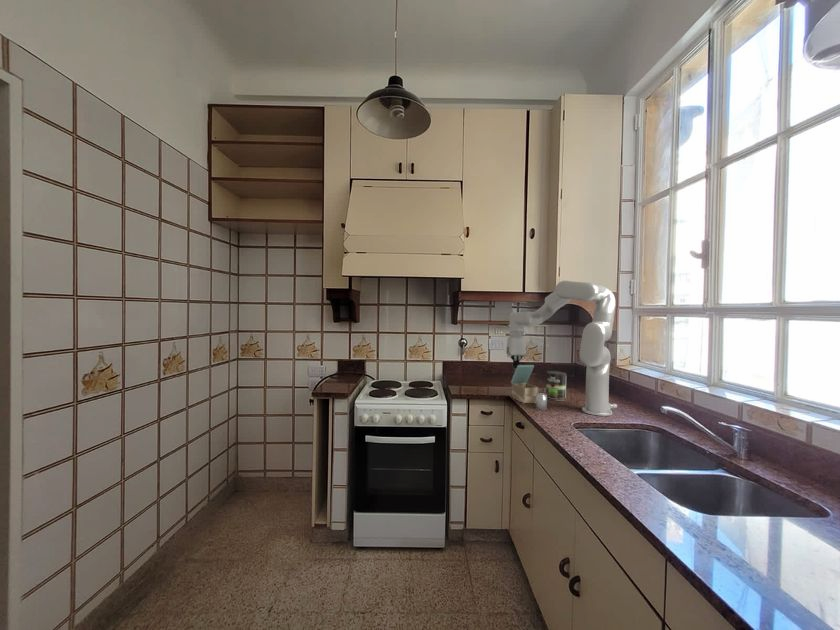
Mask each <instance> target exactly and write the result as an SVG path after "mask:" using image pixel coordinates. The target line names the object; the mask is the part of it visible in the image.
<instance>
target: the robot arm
mask: <svg viewBox="0 0 840 630" xmlns="http://www.w3.org/2000/svg"><path fill="white" fill-rule="evenodd" d="M571 301H583V302H591V303H595V307H594V311H593V317H592V322H591V321H590V322H589V323H587V324H586V325H585V327H584V328H583V331H582V335H581V339H580V341H581V342H580V347H579V359H580V362H582V364H583V365H585V366H586V373H585V406H582V408H581V411H582V412H583V413H586V414H589V415H591V416H600V417H609V416H612V415H613V411H612V409H617V408H618V405H617V403H610V402H609V401H610V400H609V398H610V397H609V395H610V394H609V392H610V391H609V390H610V386H609V385H610V367H611V360H612V357H611V356H612V355H611V353H610V349H608V347H607V346H605V342H608V341H609V340H610V339H611V337H612V336H613V335H612V334H613V328H614V327H613V326H614V321H615V312H616V307H617V306H616V304H617V301H616V297H615V294H614V293H613V291H612V290H611V289H610V288H608V287H606V286H604V285H602V284H599V283H598V284H597V283H592V282H583V281H572V280H562V281H559V282H558V283H557V284H556V286H555V287H554V291H552V292H551V293H550V294H549V295H547V296H546V297H545V298H544V304H542V306H540V307H539V308H538V309H537V310H535V311H523V312H520V311H519V312H518V311H517V312H515V311H513V312H510V314H509V336H508V337H507V338H506V339H507V340H506V346H505V347H506V350H505V352H506V353H505V354H507V355H506V357H507V358H510V359H511V360H512V365H513V366H512V367H513V368H514V369H516V368H517V366H518V365H520V361H521V360H522V358H525V357H526V353H527V344H526V338H525V335H526V332H524V331H525V329H524V328H525V327H533V326H534V327H535V326H539V325H541V324H542V323H544V322H546V321H547V320H549V318H551V317H552V316H553V315H554V314H555V313H556V312H557V311H558V310H559V309H560V308H562V307H564V306H565V305H567V304H568V303H570V302H571ZM524 326H525V327H524Z"/></svg>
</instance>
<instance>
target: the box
mask: <svg viewBox="0 0 840 630" xmlns="http://www.w3.org/2000/svg"><path fill="white" fill-rule="evenodd" d="M536 393H540V387H539V386H536V385H533V384H531V383H528V382H527V383H513V384H511V398H512V397H514V398H515V399H517V400H519V401H521V402H523V403H535V404H536Z"/></svg>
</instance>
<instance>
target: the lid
mask: <svg viewBox="0 0 840 630" xmlns="http://www.w3.org/2000/svg"><path fill="white" fill-rule="evenodd" d="M534 368H535V365H534V364H524V365H523V364H522V365H521V364H519V365H518V366H517V368H515V371H514V373H513V376H512V378H511V381H510V384H511V385H512V384H516V383H528V382H529V379H530V376H531V374H532V372H533V370H534Z"/></svg>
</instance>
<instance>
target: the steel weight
mask: <svg viewBox="0 0 840 630" xmlns="http://www.w3.org/2000/svg"><path fill="white" fill-rule="evenodd" d="M536 408H538V409H537V410H539V409H548V398H547V394H546V392H545V393H544V392H539V393H536V403H535V409H536Z"/></svg>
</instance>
